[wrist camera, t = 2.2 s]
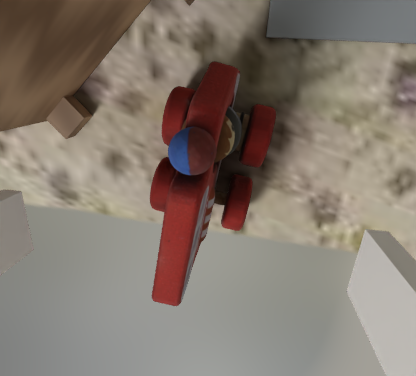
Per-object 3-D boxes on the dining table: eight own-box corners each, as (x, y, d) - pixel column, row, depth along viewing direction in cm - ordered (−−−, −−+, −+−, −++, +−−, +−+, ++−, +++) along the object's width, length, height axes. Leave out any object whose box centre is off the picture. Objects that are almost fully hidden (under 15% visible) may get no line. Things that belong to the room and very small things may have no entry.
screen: (72, 138, 22) (-163, 221, 10) (13, 79, 21) (-346, 84, 8) (220, -30, 17) (136, -366, 4) (152, -122, 16) (-273, -1003, 3)
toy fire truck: (282, 79, 19) (319, 82, 9) (236, 230, 24) (228, 334, 14) (184, 55, 19) (122, 35, 10) (159, 209, 24) (100, 298, 14)
